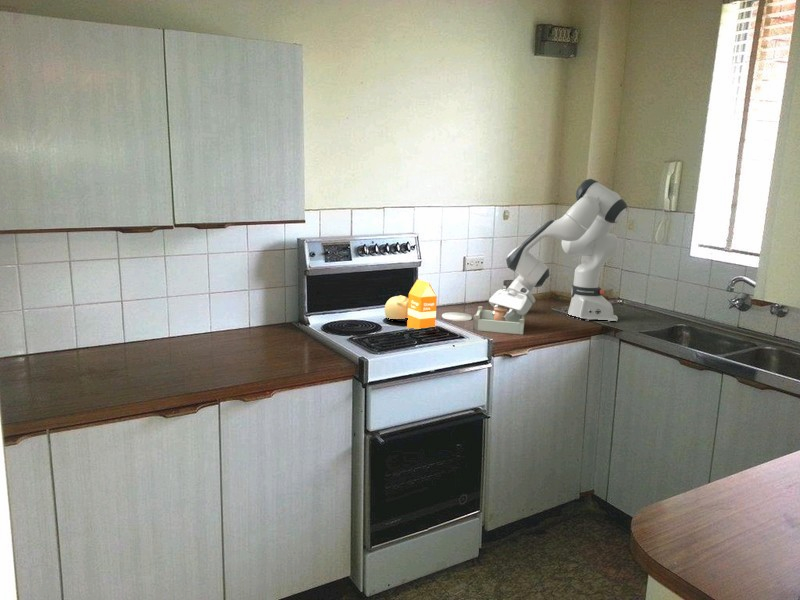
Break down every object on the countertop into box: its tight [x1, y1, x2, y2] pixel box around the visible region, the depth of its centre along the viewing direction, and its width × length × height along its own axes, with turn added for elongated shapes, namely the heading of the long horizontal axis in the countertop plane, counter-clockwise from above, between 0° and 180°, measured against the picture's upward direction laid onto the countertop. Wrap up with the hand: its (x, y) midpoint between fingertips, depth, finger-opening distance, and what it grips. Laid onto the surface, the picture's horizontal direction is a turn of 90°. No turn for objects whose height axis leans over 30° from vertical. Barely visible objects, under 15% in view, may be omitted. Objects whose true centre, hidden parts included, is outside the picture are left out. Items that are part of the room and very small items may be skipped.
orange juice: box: [406, 279, 438, 329], centre depth 267 cm, size 8×9×20 cm
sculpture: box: [384, 294, 409, 320], centre depth 284 cm, size 11×12×11 cm
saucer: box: [441, 311, 473, 322], centre depth 295 cm, size 13×13×1 cm
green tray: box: [472, 305, 526, 335], centre depth 281 cm, size 20×20×6 cm
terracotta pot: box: [493, 307, 508, 321], centre depth 281 cm, size 6×6×8 cm
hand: (498, 316), depth 281 cm, fingers closed on terracotta pot, 5 cm apart
